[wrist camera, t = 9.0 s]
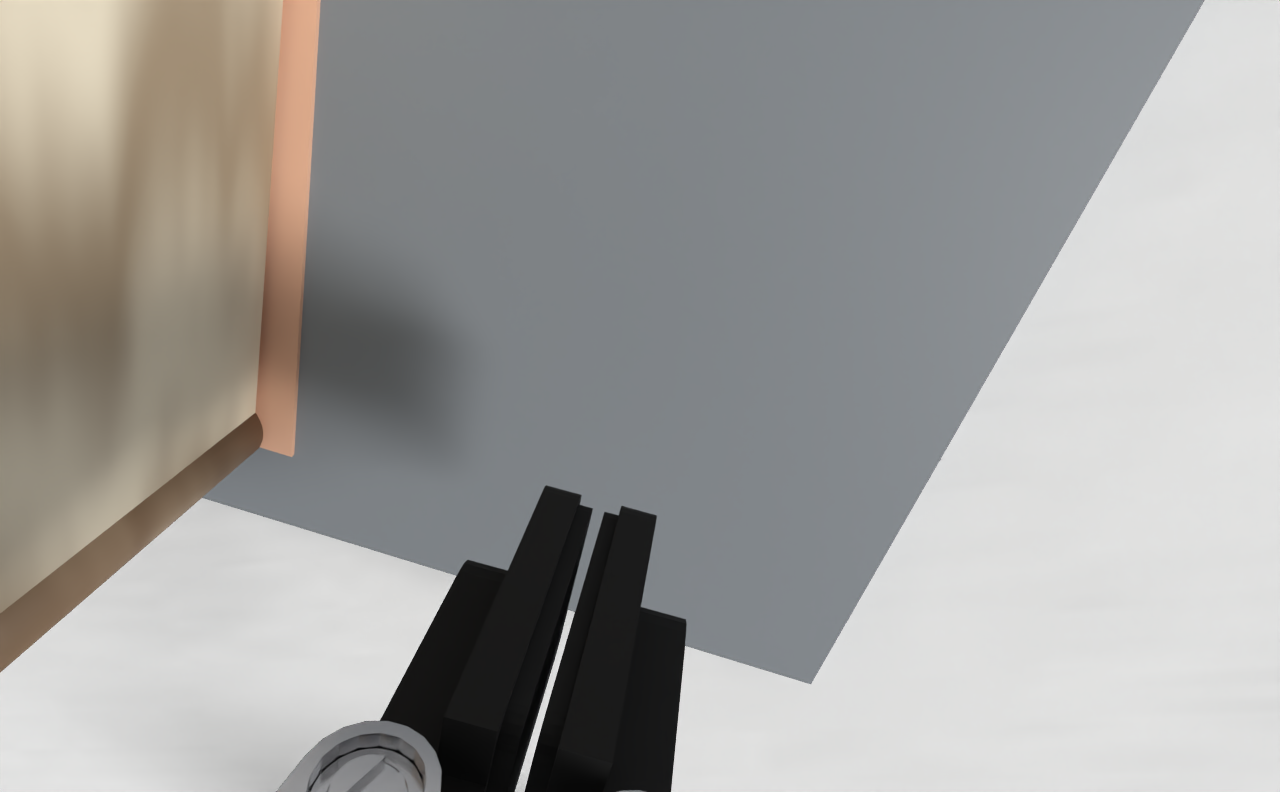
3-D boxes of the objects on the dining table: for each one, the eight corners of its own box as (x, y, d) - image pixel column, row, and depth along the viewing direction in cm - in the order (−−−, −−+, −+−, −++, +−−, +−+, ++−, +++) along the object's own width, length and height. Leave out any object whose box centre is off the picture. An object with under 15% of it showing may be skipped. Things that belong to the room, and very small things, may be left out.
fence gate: (201, -255, 10) (-748, -749, 4) (311, -216, 10) (-433, -634, 4) (189, 442, 16) (-194, 727, 9) (260, 466, 16) (-72, 767, 9)
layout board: (-964, -1371, 8) (-1091, -1474, 7) (1494, -546, 8) (1547, -586, 7) (-313, 323, 17) (-347, 333, 16) (809, 667, 17) (811, 687, 17)
